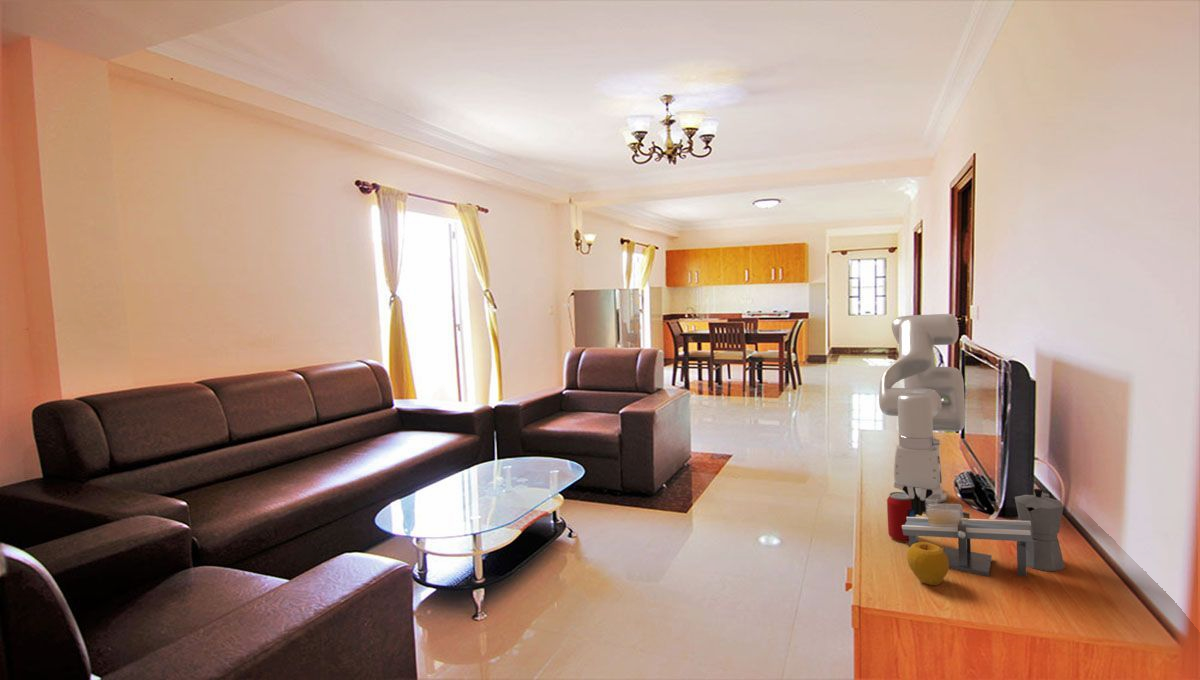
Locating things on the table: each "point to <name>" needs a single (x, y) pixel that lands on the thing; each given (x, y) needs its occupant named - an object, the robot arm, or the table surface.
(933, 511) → the rider
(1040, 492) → the coffeepot
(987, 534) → the beam
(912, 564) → the apple
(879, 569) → the table surface
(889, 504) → the beverage can
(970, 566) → the stand
